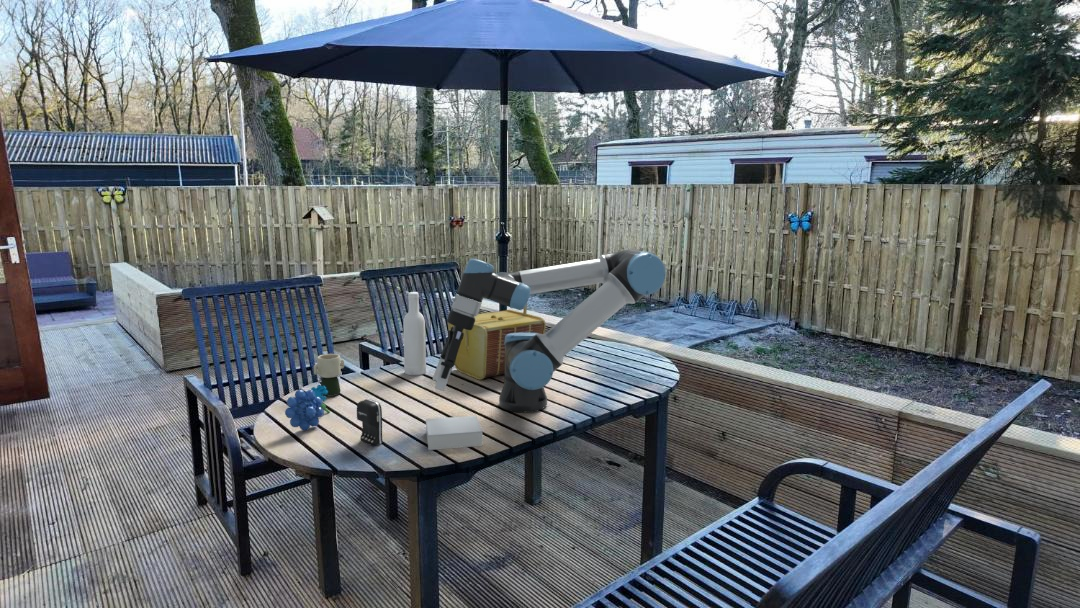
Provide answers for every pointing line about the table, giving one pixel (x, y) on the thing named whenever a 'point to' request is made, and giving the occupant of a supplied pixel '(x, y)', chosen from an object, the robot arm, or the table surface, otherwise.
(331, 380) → the character mug
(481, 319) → the picnic basket
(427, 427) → the stand
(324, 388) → the blue green lumpy piece
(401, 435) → the table surface
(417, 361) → the bottle
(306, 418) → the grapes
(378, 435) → the battery charger
